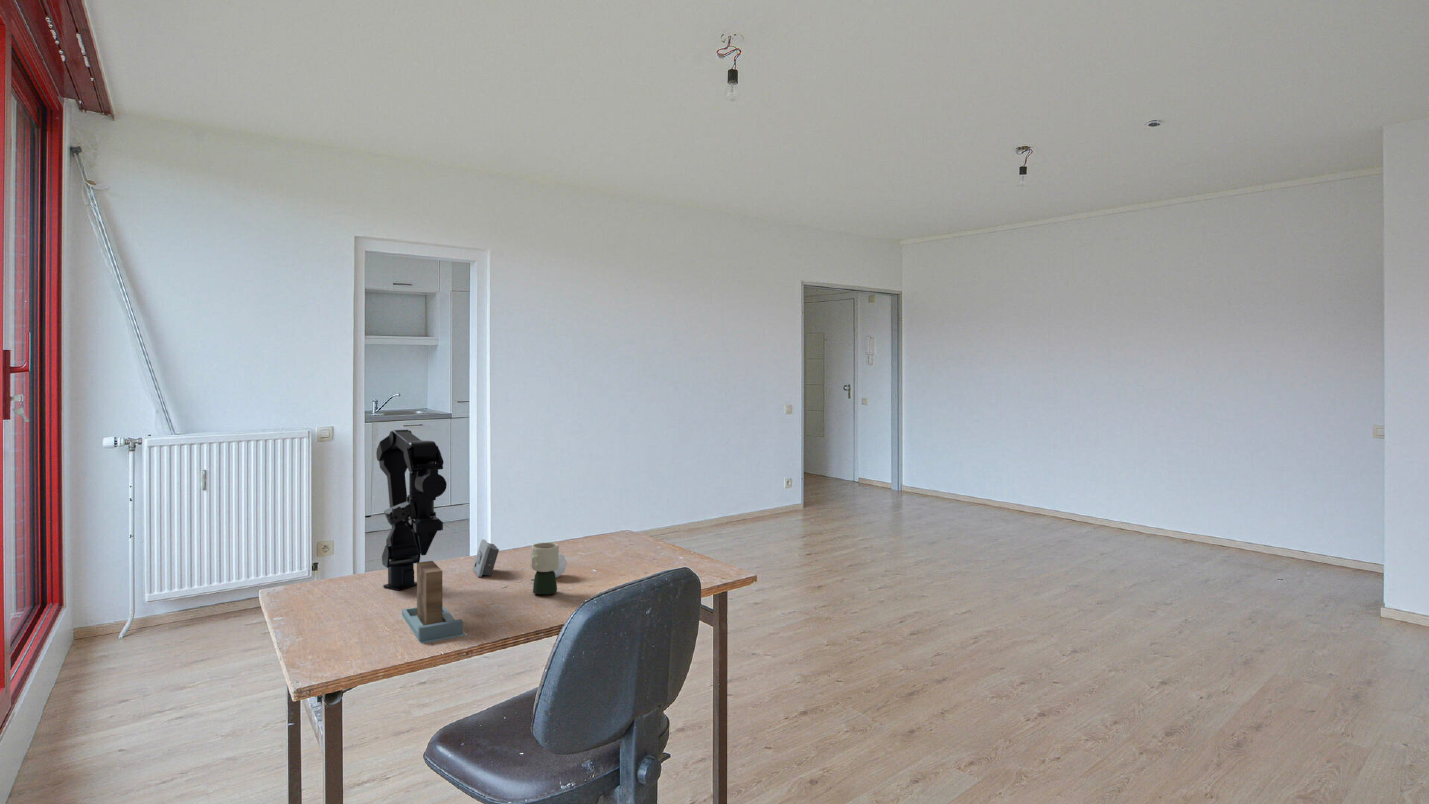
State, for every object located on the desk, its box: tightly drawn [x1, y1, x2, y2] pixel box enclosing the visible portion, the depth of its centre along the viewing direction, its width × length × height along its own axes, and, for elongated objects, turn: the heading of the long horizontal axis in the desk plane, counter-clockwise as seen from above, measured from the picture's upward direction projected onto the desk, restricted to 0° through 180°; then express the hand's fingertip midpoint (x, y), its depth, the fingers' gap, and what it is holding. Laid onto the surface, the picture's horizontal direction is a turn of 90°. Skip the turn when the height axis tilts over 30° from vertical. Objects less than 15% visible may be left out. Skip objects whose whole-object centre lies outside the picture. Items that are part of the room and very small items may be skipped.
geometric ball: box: [554, 552, 568, 579], centre depth 209 cm, size 8×8×8 cm
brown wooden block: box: [416, 560, 443, 625], centre depth 169 cm, size 10×4×13 cm, turn 33°
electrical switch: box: [472, 538, 500, 578], centre depth 212 cm, size 9×5×9 cm, turn 28°
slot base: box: [401, 604, 464, 645], centre depth 167 cm, size 21×9×4 cm, turn 33°
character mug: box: [530, 541, 560, 596], centre depth 193 cm, size 11×7×13 cm, turn 156°
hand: (421, 553), depth 183 cm, fingers open, 4 cm apart
